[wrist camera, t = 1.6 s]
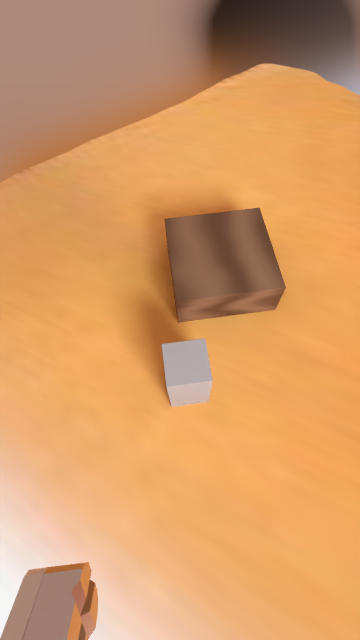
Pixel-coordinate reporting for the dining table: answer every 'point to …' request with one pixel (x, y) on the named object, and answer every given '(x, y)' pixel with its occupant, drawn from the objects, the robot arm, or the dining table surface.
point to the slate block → (187, 372)
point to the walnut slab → (222, 265)
